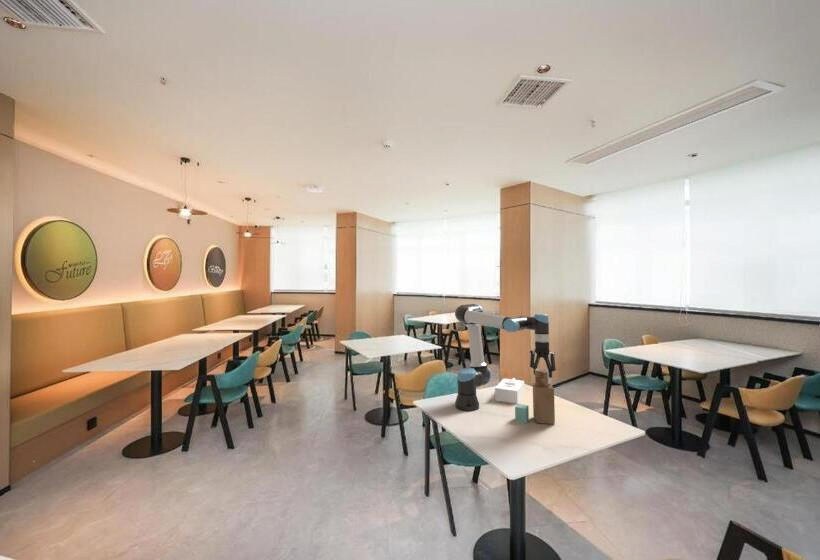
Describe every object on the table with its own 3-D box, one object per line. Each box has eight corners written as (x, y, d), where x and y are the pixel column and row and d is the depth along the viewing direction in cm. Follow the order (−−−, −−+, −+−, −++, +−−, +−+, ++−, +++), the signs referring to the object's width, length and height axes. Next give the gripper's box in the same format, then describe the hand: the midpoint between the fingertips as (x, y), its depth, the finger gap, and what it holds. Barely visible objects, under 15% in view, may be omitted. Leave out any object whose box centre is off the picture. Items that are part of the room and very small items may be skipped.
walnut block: (535, 384, 188) (535, 370, 188) (540, 382, 192) (540, 368, 192) (545, 387, 183) (545, 372, 183) (550, 384, 188) (550, 370, 188)
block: (555, 424, 181) (554, 388, 182) (536, 423, 183) (535, 387, 184) (551, 417, 191) (550, 382, 191) (533, 416, 193) (532, 382, 193)
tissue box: (495, 400, 221) (494, 384, 221) (503, 390, 243) (503, 375, 243) (517, 404, 214) (517, 387, 214) (524, 392, 236) (523, 377, 236)
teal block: (515, 421, 187) (515, 406, 188) (518, 417, 193) (517, 403, 193) (526, 423, 184) (525, 408, 184) (528, 419, 189) (528, 405, 189)
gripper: (522, 340, 192) (523, 379, 192) (556, 344, 178) (557, 386, 178) (529, 338, 198) (530, 377, 197) (562, 342, 183) (563, 383, 183)
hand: (542, 381), depth 188 cm, fingers open, 6 cm apart
